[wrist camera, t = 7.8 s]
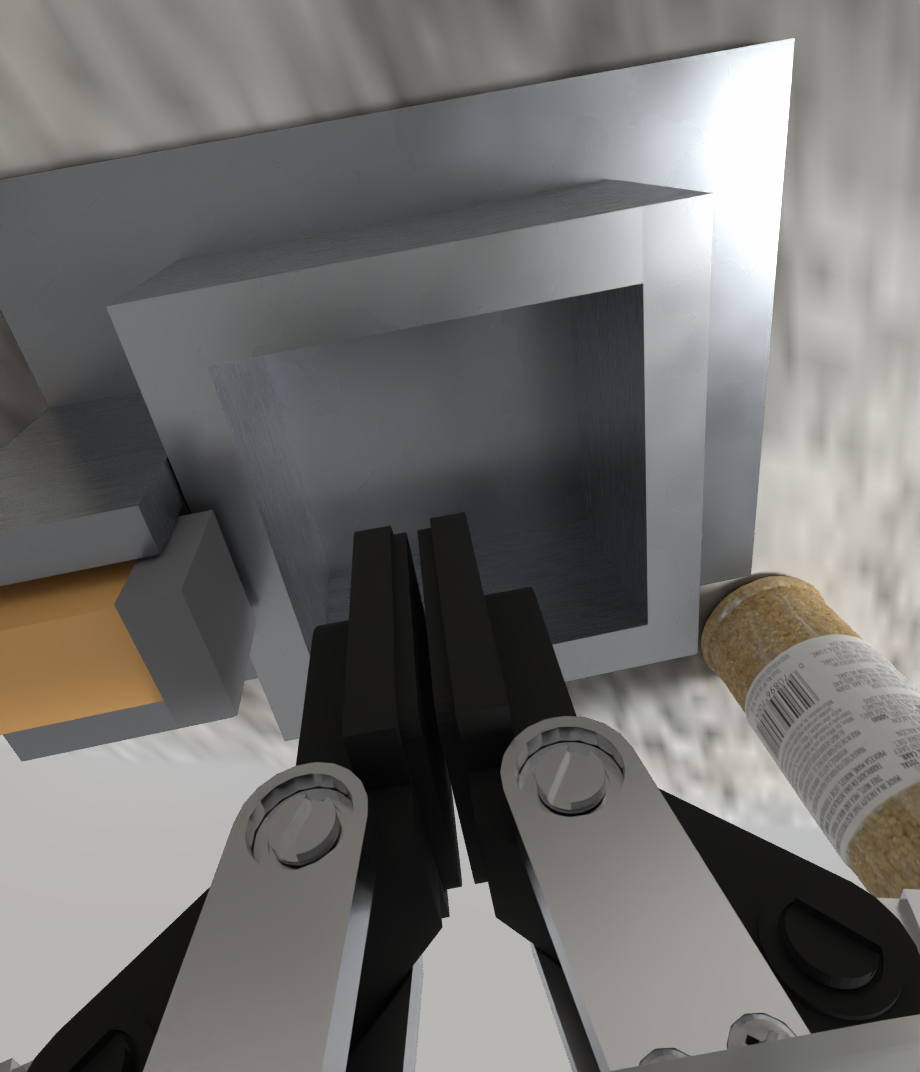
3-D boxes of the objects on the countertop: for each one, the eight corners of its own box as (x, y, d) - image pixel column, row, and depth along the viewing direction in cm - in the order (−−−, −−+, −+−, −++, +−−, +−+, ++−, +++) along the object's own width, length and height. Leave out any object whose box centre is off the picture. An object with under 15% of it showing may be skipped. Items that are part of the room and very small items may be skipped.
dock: (770, 43, 15) (1093, -35, 9) (735, 558, 22) (897, 734, 16) (-34, 187, 15) (-362, 223, 8) (194, 670, 22) (123, 904, 15)
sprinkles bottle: (756, 688, 26) (1085, 1132, 14) (669, 646, 24) (960, 1110, 12) (846, 599, 24) (1300, 1020, 12) (759, 547, 22) (1189, 978, 11)
